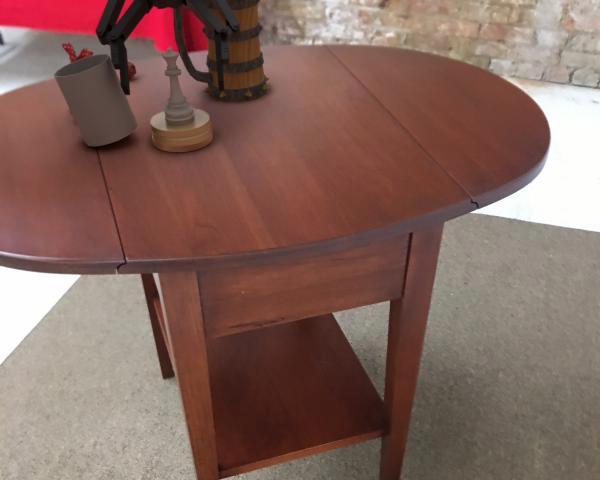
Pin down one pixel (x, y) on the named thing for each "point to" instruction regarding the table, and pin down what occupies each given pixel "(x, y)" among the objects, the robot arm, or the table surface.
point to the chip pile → (181, 133)
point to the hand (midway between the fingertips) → (173, 88)
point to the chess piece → (176, 94)
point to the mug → (243, 54)
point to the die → (131, 69)
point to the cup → (96, 99)
